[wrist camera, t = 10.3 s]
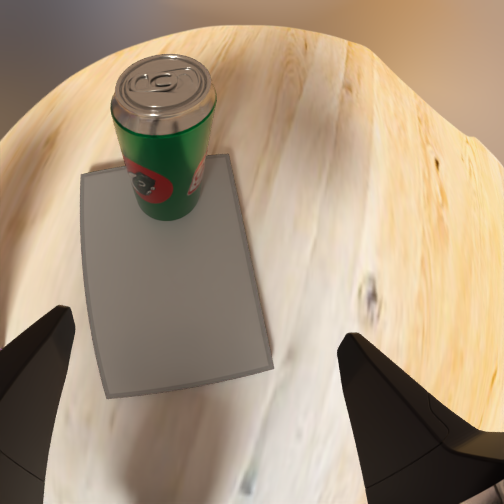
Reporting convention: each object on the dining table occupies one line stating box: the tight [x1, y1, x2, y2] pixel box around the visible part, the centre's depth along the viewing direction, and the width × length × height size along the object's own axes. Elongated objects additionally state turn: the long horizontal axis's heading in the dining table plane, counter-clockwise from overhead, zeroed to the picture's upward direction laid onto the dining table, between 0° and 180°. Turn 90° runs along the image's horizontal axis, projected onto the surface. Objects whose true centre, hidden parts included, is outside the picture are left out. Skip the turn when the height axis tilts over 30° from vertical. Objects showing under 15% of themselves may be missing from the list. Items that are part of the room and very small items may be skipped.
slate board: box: [80, 154, 274, 399], centre depth 21 cm, size 18×13×1 cm
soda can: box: [110, 54, 217, 221], centre depth 16 cm, size 5×5×12 cm
